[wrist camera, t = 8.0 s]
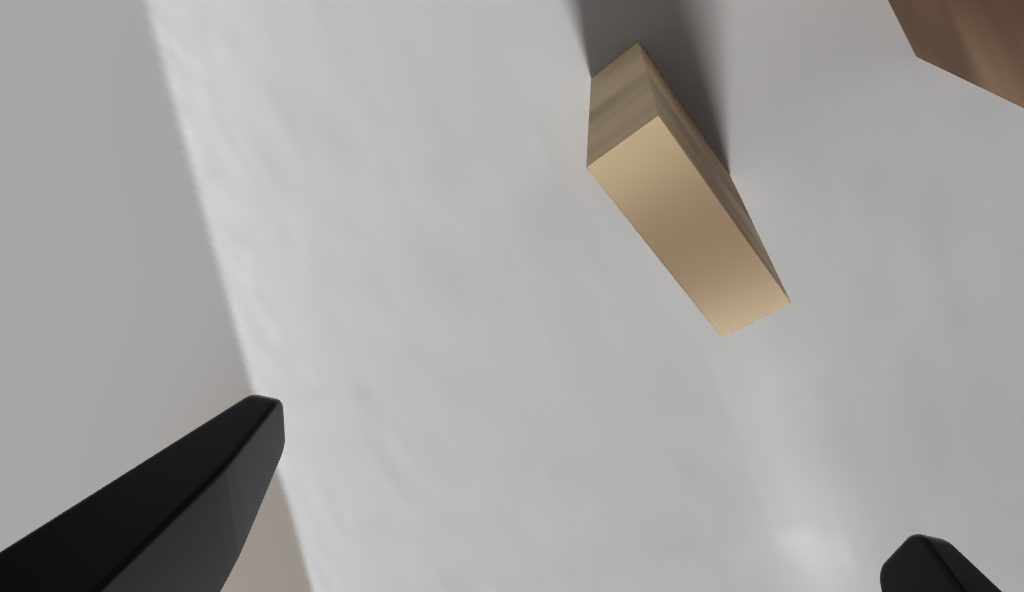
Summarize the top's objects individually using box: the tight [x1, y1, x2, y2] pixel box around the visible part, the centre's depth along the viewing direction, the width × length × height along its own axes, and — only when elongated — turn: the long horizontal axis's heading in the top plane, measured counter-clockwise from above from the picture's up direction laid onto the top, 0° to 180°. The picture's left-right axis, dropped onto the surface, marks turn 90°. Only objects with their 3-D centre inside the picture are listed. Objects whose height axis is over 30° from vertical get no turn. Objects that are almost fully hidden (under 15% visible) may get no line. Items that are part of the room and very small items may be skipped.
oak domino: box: [586, 42, 791, 338], centre depth 15 cm, size 5×2×7 cm, turn 41°
